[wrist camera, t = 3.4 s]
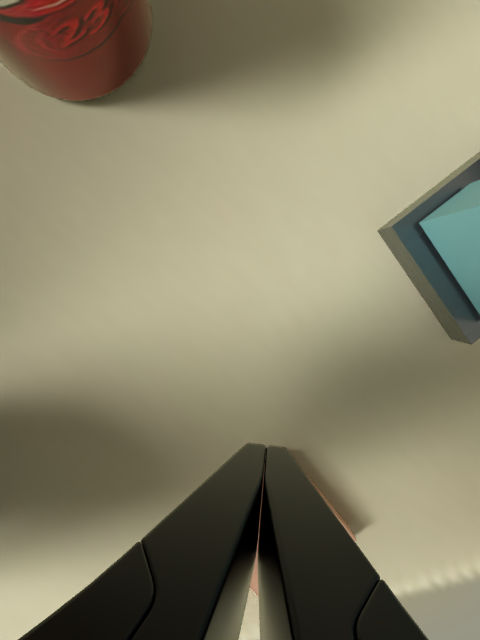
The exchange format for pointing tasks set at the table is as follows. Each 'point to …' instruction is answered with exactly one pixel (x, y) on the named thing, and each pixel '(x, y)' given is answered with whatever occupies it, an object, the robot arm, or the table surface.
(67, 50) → the soda can
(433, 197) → the key two base
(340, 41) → the table surface
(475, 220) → the key two
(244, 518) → the robot arm
